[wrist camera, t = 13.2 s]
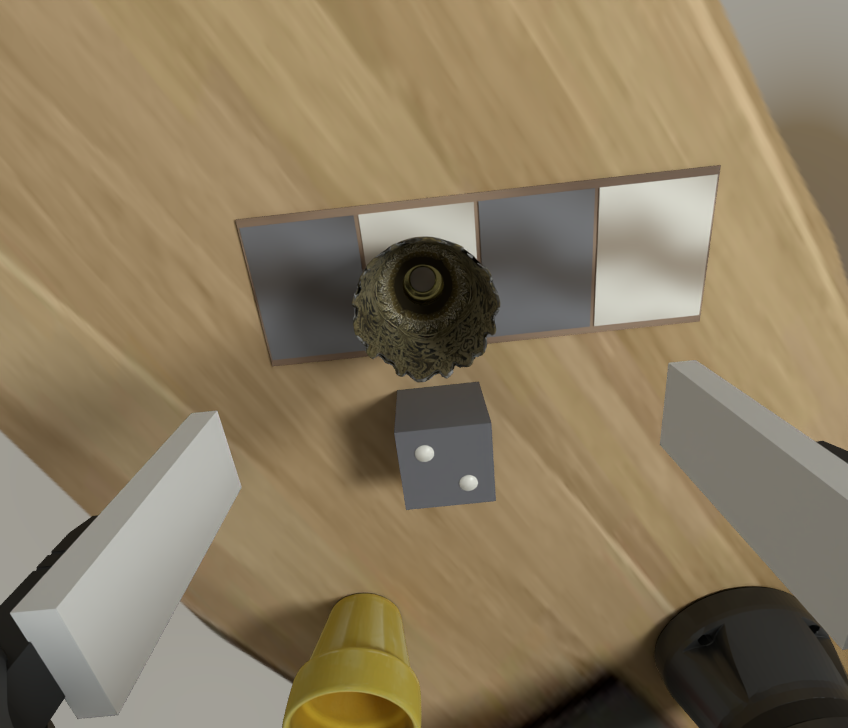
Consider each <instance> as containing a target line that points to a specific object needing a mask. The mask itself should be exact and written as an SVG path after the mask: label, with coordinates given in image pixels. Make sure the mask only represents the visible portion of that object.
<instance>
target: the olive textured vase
mask: <svg viewBox="0 0 848 728" xmlns="http://www.w3.org/2000/svg"><path fill="white" fill-rule="evenodd" d="M420 267H426V268H429V269H430V270H431V271H432V272H433V273H434V275H435V283H434V285H433V287H432V288H431V289H430V290H428V291H425V292H420V291H417V290H415V289H414V288H413V287H412V285H411V282H410V277H411V274H412V272H413V271H414V270H415V269H417V268H420ZM357 288H358V289H357V291H356V293H355V294H354V297H353V301H352V306H353V307H354V317H353V326H354V332H355V335H356V337H357V338H358V339H359V340H360V341H361V343H362V344H363V345H364V346H365V352H366V353H367V355H368V356H369V357H370V358H371V359H374V358H375V357H377V356H379V357H381V358H382V359H383V360H384V362H385V363H387V364H390V365H392V366H393V367H394V369H395V371H396V374H397V375H398V376H400V377H403V376H405V375H406V374H407V375H409V376H410V377H411V378H412V379H413V380H414V381H416V382H425V381H427V380H429V379H431V378H432V377H433V376H434V375H436V374H441V376H442V377H444V378H449V377H450V376H451V374H452V373H453V369H454V366H455V365H456V366H458V367H460V368H461V367H469V366H471V365H472V363H473V360H474V359H475V357H479V356H481V355H483V354H484V352H485V350H486V347H487V335H489V334H490V335H491V336H493V335H495V334H496V329H497V328H496V325H495V317H496V315H497V314H498V313H499V310H500V299H499V295H498V292H497V290H496V288H495V286H494V284H493V278H492V275H491V273H490V272H489V270H488V269H487V268H486V267H485V266H483V265H482V264H481V263H480V262H479V261H478V260H477V259H476V258H475V257H474V256H473V255H472V254H471V253H469V252H468V251H467V250H465V249H464V247H462V246H460V245H458V244H456V243H453V242H450V241H446V240H444V239H440V238H436V237H428V236H423V237H413V238H409V239H405V240H403V241H400V242H398V243H395V244H393V245H391V246H389V247H388V248H387V249H386V250H384V251H383V252H381V253H380V254H379V255H377V256H376V257H375V258H373V259H372V260H371V261H370V262H369V263H368V264H367V266H366V269H364V271H363V273H362V275H361V276H360V278H359V282H358V284H357Z"/></svg>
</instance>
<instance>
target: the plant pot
mask: <svg viewBox="0 0 848 728" xmlns="http://www.w3.org/2000/svg"><path fill="white" fill-rule="evenodd" d="M282 728H421V692H420V686H419V682H418V679H417V677H416V675H415V673H414V672H413V670H412V669H411V668H410V663H409V658H408V653H407V647H406V642H405V636H404V630H403V624H402V618H401V615H400V612H399V610H398V608H397V607H396V605H395V604H393V603H392V602H391V601H390V600H388V599H386V598H384V597H382V596H379V595H375V594H369V593H360V594H354V595H350V596H347V597H345V598H343V599H341V600H340V601H339V602H338V603H337V604H335V606H334V607H333V609H332V610H331V613H330V615H329V617H328V620H327V622H326V624H325V627H324V629H323V631H322V633H321V636H320V638H319V640H318V642H317V644H316V647H315V649H314V651H313V653H312V656H311V658H310V660H309V661H308V662H306V663H305V664H304V665H303V666H302V667H301V669H300V670H299V671H298V673H297V675H296V677H295V679H294V682H293V685H292V688H291V692H290V695H289V698H288V703H287V707H286V710H285V715H284V719H283V724H282Z"/></svg>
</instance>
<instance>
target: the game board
mask: <svg viewBox="0 0 848 728" xmlns="http://www.w3.org/2000/svg"><path fill="white" fill-rule="evenodd" d="M720 167H721V165H717V166H708V167H699V168H691V169H682V170H673V171H664V172H655V173H646V174H637V175H628V176H619V177H611V178H602V179H593V180H584V181H575V182H566V183H557V184H548V185H539V186H530V187H522V188H513V189H504V190H495V191H486V192H477V193H468V194H459V195H450V196H442V197H433V198H424V199H415V200H406V201H397V202H388V203H379V204H370V205H361V206H353V207H344V208H335V209H326V210H317V211H308V212H299V213H290V214H281V215H273V216H264V217H255V218H246V219H237V220H236V224H237V228H238V232H239V236H240V240H241V244H242V248H243V252H244V256H245V260H246V264H247V268H248V272H249V275H250V279H251V283H252V287H253V291H254V295H255V299H256V303H257V307H258V311H259V315H260V319H261V323H262V327H263V331H264V334H265V338H266V342H267V346H268V350H269V354H270V358H271V362H272V366H280V365H290V364H299V363H309V362H318V361H328V360H337V359H347V358H356V357H366V356H368V355H367V353H366V352H365V346H364V345H363V344H362V343H361V341H360V340H359V339H358V338H357V337H356V335H355V332H354V326H353V317H354V307H353V306H352V301H353V297H354V294H355V293H356V291H357V289H358V288H357V284H358V282H359V278H360V276H361V275H362V273H363V271H364V269H366V266H367V264H368V263H369V262H370V261H371V260H372V259H373V258H375V257H376V256H377V255H379V254H380V253H381V252H383V251H384V250H386V249H387V248H388V247H389V246H391V245H393V244H395V243H398V242H400V241H403V240H405V239H409V238H413V237H423V236H428V237H436V238H440V239H444V240H446V241H450V242H453V243H456V244H458V245H460V246H462V247H464V249H465V250H467V251H468V252H469V253H471V254H472V255H473V256H474V257H475V258H476V259H477V260H478V261H479V262H480V263H481V264H482V265H483V266H485V267H486V268H487V269H488V270H489V272H490V273H491V275H492V278H493V284H494V286H495V288H496V290H497V292H498V295H499V299H500V310H499V313H498V314H497V315H496V317H495V325H496V328H497V329H496V334H495V335H493V336H491V335H490V334H489V335H487V344H489V343H498V342H508V341H517V340H527V339H536V338H546V337H555V336H565V335H574V334H584V333H593V332H603V331H612V330H622V329H631V328H641V327H650V326H660V325H669V324H678V323H688V322H697V321H700V315H701V307H702V300H703V293H704V285H705V278H706V270H707V263H708V255H709V248H710V241H711V233H712V226H713V218H714V211H715V204H716V196H717V189H718V181H719V174H720ZM410 282H411V285H412V287H413V288H414V289H415V290H417V291H420V292H425V291H428V290H430V289H431V288H432V287H433V285H434V283H435V275H434V273H433V272H432V271H431V270H430V269H429V268H426V267H420V268H417V269H415V270H414V271H413V272H412V274H411V277H410Z"/></svg>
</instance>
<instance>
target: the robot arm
mask: <svg viewBox="0 0 848 728" xmlns="http://www.w3.org/2000/svg"><path fill="white" fill-rule="evenodd" d="M660 445H661V446H662V448H663V449H664V450H665V451H666V452H667V453H668V454H669V455H670V457H671V458H672V459H673V460H674V461H675V462H676V463H677V464H678V466H679V467H680V468H681V469H682V470H683V471H684V472H685V473H686V475H687V476H688V477H689V478H690V479H691V480H692V481H693V482H694V484H695V485H696V486H697V487H698V488H699V489H700V490H701V491H702V493H703V494H704V495H705V496H706V497H707V498H708V499H709V500H710V502H711V503H712V504H713V505H714V506H715V507H716V508H717V509H718V511H719V512H720V513H721V514H722V515H723V516H724V517H725V518H726V520H727V521H728V522H729V523H730V524H731V525H732V526H733V527H734V529H735V530H736V531H737V532H738V533H739V534H740V535H741V536H742V538H743V539H744V540H745V541H746V542H747V543H748V544H749V545H750V547H751V548H752V549H753V550H754V551H755V552H756V553H757V554H758V556H759V557H760V558H761V559H762V560H763V561H764V562H765V563H766V565H767V566H768V567H769V568H770V569H771V570H772V571H773V572H774V574H775V575H776V576H777V577H778V578H779V579H780V580H781V581H782V582H783V584H784V585H785V586H786V587H787V588H788V589H789V590H790V591H791V593H792V594H793V595H794V596H793V595H791V594H789V593H786V592H784V591H780V590H777V589H771V588H763V587H749V588H739V589H733V590H728V591H724V592H721V593H718V594H714V595H712V596H709V597H707V598H704V599H702V600H700V601H698V602H696V603H694V604H693V605H691V606H689V607H688V608H686V609H685V610H683V611H682V612H681V613H679V614H678V615H677V616H676V617H675V618H674V619H672V620H671V622H670V623H669V624H668V625H667V626H666V627H665V629H664V630H663V631H662V633H661V635H660V636H659V638H658V641H657V643H656V647H655V653H654V659H655V664H656V667H657V669H658V671H659V673H660V675H661V677H662V679H663V681H664V683H665V685H666V687H667V689H668V691H669V692H670V694H671V695H672V697H673V698H674V699H675V700H676V701H677V703H678V704H679V705H680V706H681V707H682V708H683V710H684V711H685V712H686V713H687V714H688V715H689V716H690V718H691V719H692V720H693V721H694V722H695V723H696V725H697V726H698V727H699V728H848V675H847V673H846V671H845V669H844V667H843V665H842V663H841V660H840V658H839V656H838V654H837V652H836V650H835V648H834V646H833V644H832V642H831V640H830V638H829V635H830V636H831V638H832V639H833V640H834V641H835V642H836V643H837V644H838V645H839V647H840V648H841V649H842V650H845V649H848V451H846V450H844V449H841V448H839V447H836V446H834V445H832V444H829V443H827V442H824V441H818V442H815V441H814V440H812V439H811V438H809V437H808V436H806V435H805V434H803V433H802V432H800V431H799V430H798V429H796V428H795V427H793V426H792V425H790V424H789V423H787V422H786V421H784V420H783V419H781V418H780V417H778V416H777V415H776V414H774V413H773V412H771V411H770V410H768V409H767V408H765V407H764V406H762V405H761V404H759V403H758V402H756V401H755V400H753V399H752V398H751V397H749V396H748V395H746V394H745V393H743V392H742V391H740V390H739V389H737V388H736V387H734V386H733V385H731V384H730V383H729V382H727V381H726V380H724V379H723V378H721V377H720V376H718V375H717V374H715V373H714V372H712V371H711V370H709V369H708V368H706V367H705V366H704V365H702V364H701V363H699V362H698V361H696V360H691V361H682V362H672V363H669V364H668V373H667V382H666V392H665V401H664V411H663V420H662V430H661V439H660ZM240 489H241V484H240V481H239V478H238V474H237V471H236V468H235V465H234V462H233V459H232V456H231V452H230V449H229V446H228V443H227V440H226V437H225V434H224V430H223V427H222V424H221V421H220V418H219V415H218V412H217V411H208V412H199V413H191V414H190V415H189V416H188V418H187V419H186V420H185V421H184V422H183V423H182V424H181V425H180V426H179V427H178V429H177V430H176V431H175V432H174V433H173V434H172V435H171V436H170V437H169V438H168V440H167V441H166V442H165V443H164V444H163V445H162V446H161V447H160V448H159V449H158V451H157V452H156V453H155V454H154V455H153V456H152V457H151V458H150V459H149V460H148V462H147V463H146V464H145V465H144V466H143V467H142V468H141V469H140V470H139V471H138V473H137V474H136V475H135V476H134V477H133V478H132V479H131V480H130V481H129V482H128V484H127V485H126V486H125V487H124V488H123V489H122V490H121V491H120V492H119V493H118V495H117V496H116V497H115V498H114V499H113V500H112V501H111V502H110V503H109V504H108V506H107V507H106V508H105V509H104V510H103V511H102V512H101V513H100V514H99V515H98V516H92V517H91V518H89V519H88V520H87V521H85V522H84V523H82V524H81V525H80V526H78V527H77V528H75V529H74V530H72V531H71V532H70V533H69V534H68V535H67V536H66V537H65V538H64V539H63V540H62V541H61V542H60V543H59V544H58V545H57V546H56V547H55V548H54V549H53V550H52V554H51V555H48V556H47V557H46V558H45V559H44V560H43V561H42V562H41V563H40V564H39V565H38V566H37V570H36V571H33V572H32V573H31V574H30V575H29V576H28V577H27V578H26V579H25V580H24V581H23V582H22V583H21V584H20V585H19V586H18V587H17V589H16V590H15V591H14V592H13V593H12V594H11V595H10V596H9V597H8V598H7V599H6V600H5V601H4V602H3V603H2V604H1V605H0V728H55V726H54V724H53V723H52V721H51V720H50V719H51V718H52V716H53V715H54V713H55V712H56V710H57V709H58V707H59V706H60V704H61V703H62V701H63V700H64V699H65V700H66V702H67V703H68V705H69V706H70V708H71V709H72V711H73V713H74V714H75V716H76V717H77V719H81V718H92V717H103V716H115V715H118V714H119V713H120V711H121V709H122V707H123V705H124V703H125V702H126V700H127V698H128V696H129V694H130V692H131V690H132V689H133V687H134V685H135V683H136V681H137V679H138V678H139V676H140V674H141V672H142V670H143V668H144V666H145V665H146V662H147V661H148V659H149V657H150V655H151V654H152V652H153V650H154V648H155V646H156V644H157V642H158V641H159V639H160V637H161V635H162V633H163V631H164V629H165V628H166V626H167V624H168V622H169V620H170V618H171V617H172V614H173V613H174V611H175V609H176V607H177V605H178V604H179V602H180V600H181V598H182V596H183V594H184V593H185V591H186V589H187V587H188V585H189V583H190V581H191V580H192V578H193V576H194V574H195V572H196V570H197V569H198V567H199V565H200V563H201V561H202V559H203V557H204V556H205V554H206V552H207V550H208V548H209V546H210V545H211V543H212V541H213V539H214V537H215V535H216V533H217V532H218V530H219V528H220V526H221V524H222V522H223V520H224V519H225V517H226V515H227V513H228V511H229V509H230V508H231V506H232V504H233V502H234V500H235V498H236V496H237V495H238V493H239V491H240ZM828 634H829V635H828Z"/></svg>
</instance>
